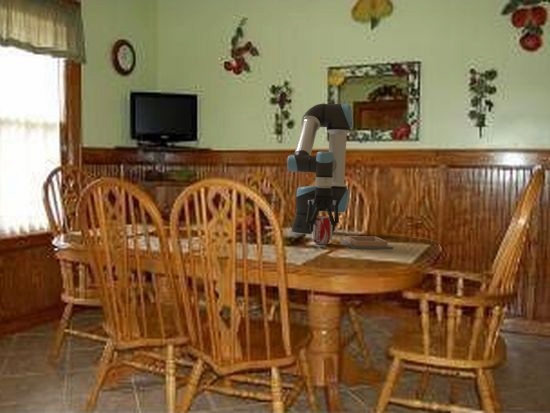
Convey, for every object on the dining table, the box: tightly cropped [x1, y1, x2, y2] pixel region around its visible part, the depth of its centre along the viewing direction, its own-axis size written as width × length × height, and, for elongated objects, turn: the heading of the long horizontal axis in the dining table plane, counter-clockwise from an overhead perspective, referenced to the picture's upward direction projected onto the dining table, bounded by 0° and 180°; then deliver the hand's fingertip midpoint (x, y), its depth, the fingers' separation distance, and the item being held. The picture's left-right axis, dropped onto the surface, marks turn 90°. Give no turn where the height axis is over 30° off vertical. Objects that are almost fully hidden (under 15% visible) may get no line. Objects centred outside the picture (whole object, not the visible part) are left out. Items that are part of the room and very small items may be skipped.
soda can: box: [313, 215, 331, 246], centre depth 255 cm, size 7×7×12 cm
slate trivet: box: [339, 235, 394, 250], centre depth 254 cm, size 18×18×3 cm
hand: (321, 239), depth 255 cm, fingers closed on soda can, 7 cm apart
